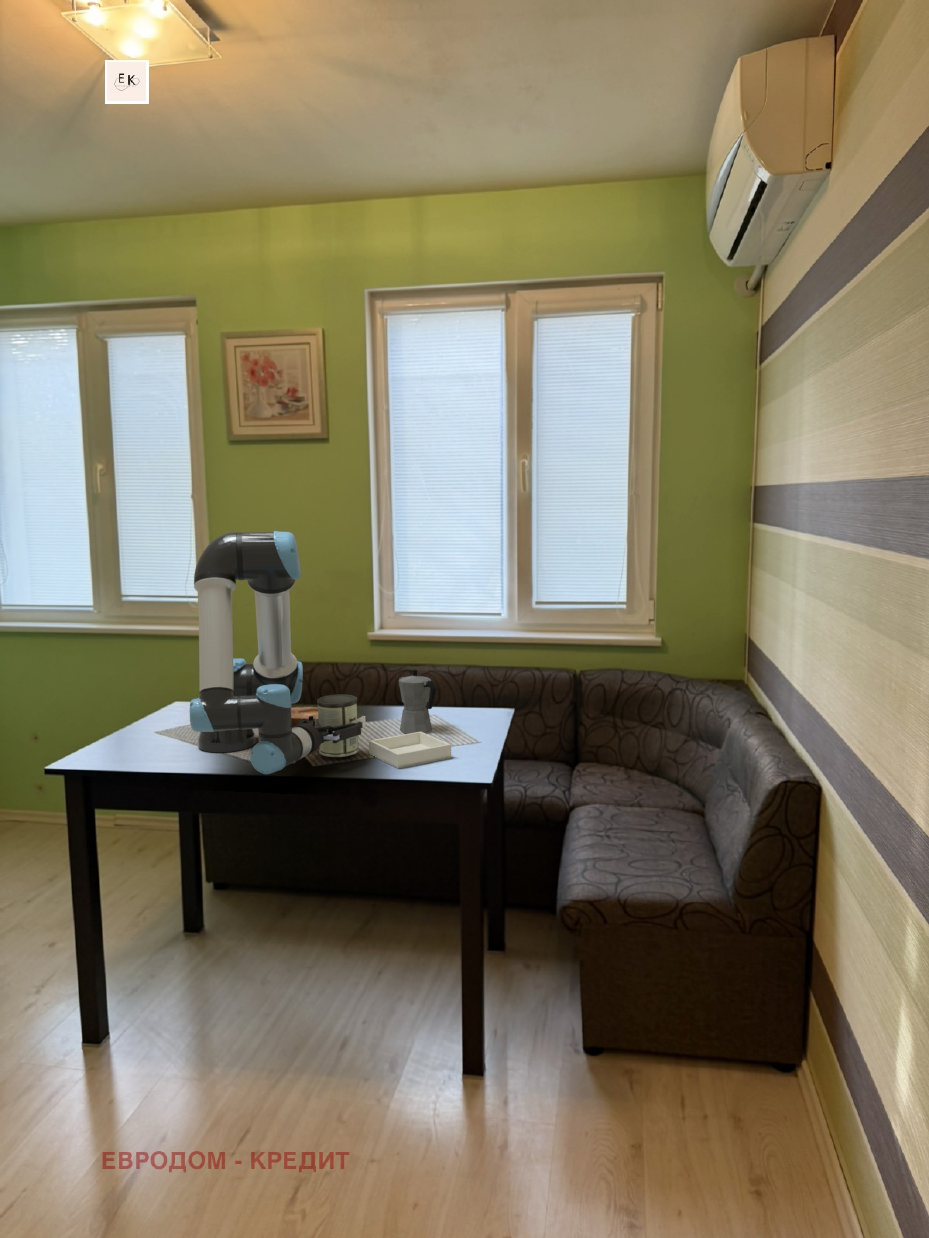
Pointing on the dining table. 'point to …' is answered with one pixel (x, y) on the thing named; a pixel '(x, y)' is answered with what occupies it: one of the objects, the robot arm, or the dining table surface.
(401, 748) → the tray
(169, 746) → the dining table surface
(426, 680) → the coffeepot
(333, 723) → the coffee can
